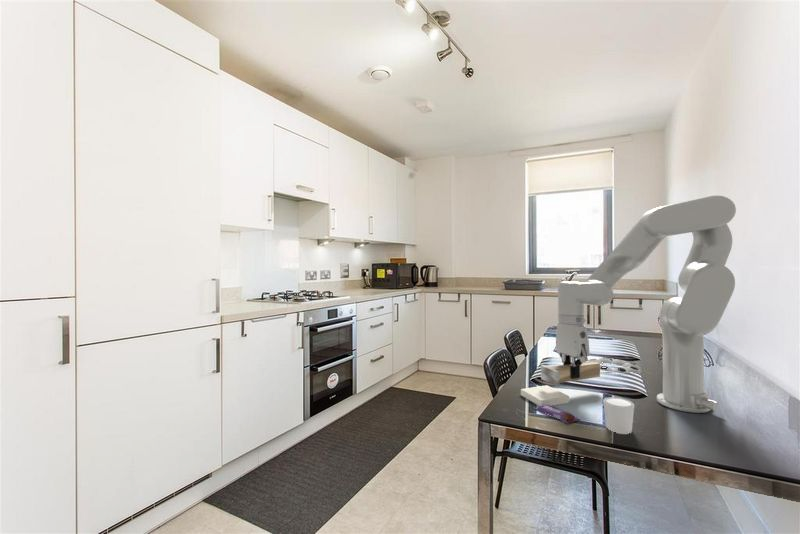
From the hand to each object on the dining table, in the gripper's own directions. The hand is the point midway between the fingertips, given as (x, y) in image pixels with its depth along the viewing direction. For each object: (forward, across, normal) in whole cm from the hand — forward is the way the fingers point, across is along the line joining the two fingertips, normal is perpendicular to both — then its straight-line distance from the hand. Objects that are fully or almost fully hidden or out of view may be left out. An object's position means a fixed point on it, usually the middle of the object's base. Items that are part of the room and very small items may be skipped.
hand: (571, 376), depth 117 cm
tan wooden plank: (+1, 0, -1) cm, 2 cm away
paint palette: (+6, +17, -36) cm, 40 cm away
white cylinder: (+6, -23, +6) cm, 25 cm away
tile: (+5, 0, +6) cm, 7 cm away
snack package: (+7, -11, +15) cm, 20 cm away
